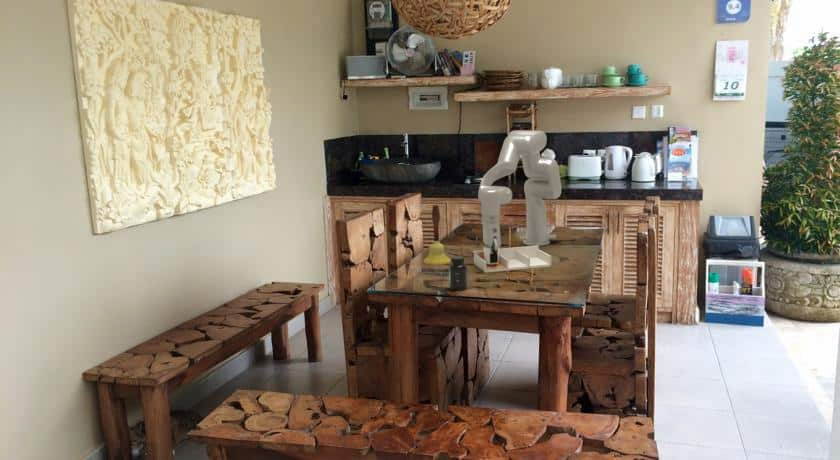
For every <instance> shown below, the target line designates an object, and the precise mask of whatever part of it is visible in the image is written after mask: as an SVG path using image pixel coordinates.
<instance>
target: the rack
mask: <svg viewBox="0 0 840 460" xmlns="http://www.w3.org/2000/svg"><path fill="white" fill-rule="evenodd" d="M539 247H540V246H538V245H537V246H531V245H526V246H517V247H515V246H513V247H503V248H499V260H498V263H497V264H486V261H485V259H484V250H483V249H480V250H473V265H474V266H475V267H477V268H478V269H479V270H481V271H482V272H483V273H485V274H486V273H496V272H504V271H505V272H507V271H517V270H528V269H529V270H530V269H540V268H548V267H549V268H550V267H552V255H550V254H549V253H546V252H545V251H543V250H540V248H539Z"/></svg>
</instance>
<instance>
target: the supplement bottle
mask: <svg viewBox="0 0 840 460" xmlns="http://www.w3.org/2000/svg"><path fill="white" fill-rule="evenodd" d="M450 259H451V262H450V263H451V264H450V265H449V266H448V277H449V279H448V280H449V281H448V283H449V284H448V285H449V289H450V290H451V289H452V291H456V290H460V291H465V290H467V289H468V266H467V264H466V263H465V257H464V256H463V255H462V256H460V255H459V256H451V258H450ZM464 289H465V290H464Z"/></svg>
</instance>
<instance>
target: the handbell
mask: <svg viewBox="0 0 840 460" xmlns="http://www.w3.org/2000/svg"><path fill="white" fill-rule="evenodd" d="M431 209H432V210H431V220H432V224H433V243H432V244H430V245H429V247H428V248H429V249H428V250H429V252H428V254H427V256H426V258H424V259H423V263H424V264H428V265H443V264H449V263H451V258H450V257H448V256H447V255H446V253H445V246H444V244H442V243H441V242H440V232H439V230H440V229H439V224H440V220H441V219H440V217H441V216H440V209H439V205H438V204H433V206H432V208H431Z"/></svg>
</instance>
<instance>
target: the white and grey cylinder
mask: <svg viewBox="0 0 840 460" xmlns="http://www.w3.org/2000/svg"><path fill="white" fill-rule="evenodd" d="M492 246H494V245H492ZM482 248H483V249H482V250H484V259H485V261H486V264H497V263H498V262H497V263H490V254H491V251H490V247H489V246H488V245H487V246H485V245H484V246H482ZM499 249H500V246H498V260H499ZM492 250H493V248H492Z"/></svg>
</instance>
